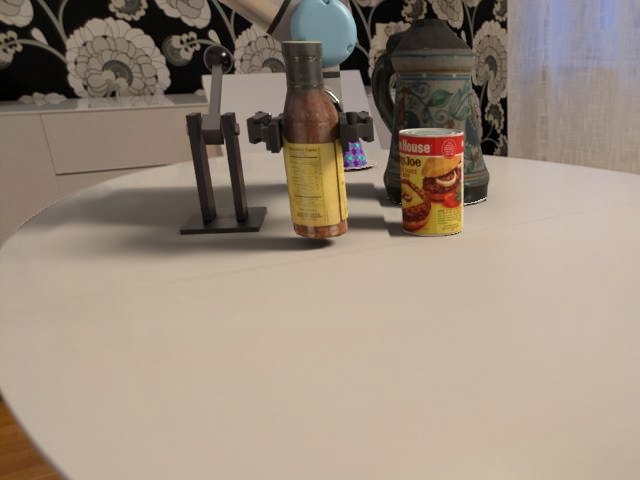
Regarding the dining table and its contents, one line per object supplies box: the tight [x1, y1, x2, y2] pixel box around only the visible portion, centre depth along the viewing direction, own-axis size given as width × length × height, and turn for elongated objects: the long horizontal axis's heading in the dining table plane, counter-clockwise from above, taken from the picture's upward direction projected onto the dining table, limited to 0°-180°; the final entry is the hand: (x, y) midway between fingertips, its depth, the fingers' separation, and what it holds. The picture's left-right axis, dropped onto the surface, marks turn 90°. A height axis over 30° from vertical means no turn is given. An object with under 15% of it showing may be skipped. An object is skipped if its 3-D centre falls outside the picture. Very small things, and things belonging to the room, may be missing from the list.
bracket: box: [179, 111, 268, 236], centre depth 84 cm, size 12×9×14 cm
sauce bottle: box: [280, 41, 349, 240], centre depth 72 cm, size 7×6×20 cm
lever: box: [201, 44, 234, 146], centre depth 85 cm, size 17×4×4 cm
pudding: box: [342, 139, 378, 169], centre depth 131 cm, size 12×12×5 cm
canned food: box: [399, 128, 465, 237], centre depth 84 cm, size 8×8×12 cm
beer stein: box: [370, 18, 491, 204], centre depth 101 cm, size 16×19×25 cm
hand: (309, 138), depth 67 cm, fingers closed on sauce bottle, 6 cm apart
